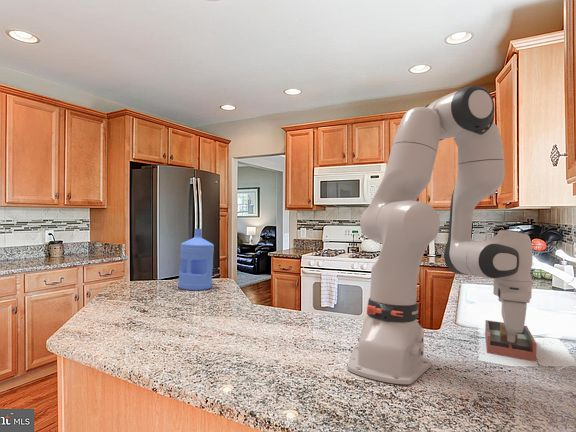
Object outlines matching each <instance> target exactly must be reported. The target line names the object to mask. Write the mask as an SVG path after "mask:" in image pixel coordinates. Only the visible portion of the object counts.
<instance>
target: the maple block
mask: <svg viewBox="0 0 576 432" xmlns="http://www.w3.org/2000/svg"><path fill="white" fill-rule="evenodd" d="M517 338H518V332H516V335H515V342H514V343H517ZM500 340H501V341H506V342H508V341H507V331H506V327H505V324H501V323H500Z"/></svg>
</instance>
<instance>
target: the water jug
mask: <svg viewBox="0 0 576 432" xmlns="http://www.w3.org/2000/svg"><path fill="white" fill-rule="evenodd" d="M202 230H203V229H202V228H195V229H194V236H193V238H190V239H188V240H186V241H184V242H181V243H180V247H179V248H180V251H179V252H180V253H179V257H180V262H179V263H180V265H179V272H178V273H179V275H178V282H177V284H178V285H177V286H178V288H179V289H181V290H185V291H206V290H209V289H212V287H213V270H214V254H215V253H214V251H215V249H214V247H215V245H214V244H213V243H212V242H210V241H208V240H206V239H204V238H203V237H202Z"/></svg>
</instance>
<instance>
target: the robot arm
mask: <svg viewBox="0 0 576 432" xmlns="http://www.w3.org/2000/svg"><path fill="white" fill-rule="evenodd" d="M494 101H495V100H494V98H493V96H492V94H491V93H490V92H489V91H488V90H487V89H486V88H485V87H484V86H481V85H469V86H465V87H462V88H459V89H458V90H456V91H454V92H451V93H449V94H446V95H443V96H440V97H439V98H437V99H436V100H434V101H433V102H431V103H428V104H426V106H417V107H412V108H411V109H409V110H407V111H406V112H405V113H404V115H403V116H402V118H401V121H400V123H399V124H398V127H397V129H396V132H395V135H394V138H393V142H392V144H391V145H392V146H391V150H390V152H389V153H390V154H389V157H388V160H387V165H386V169H385V172H384V175H383V177H382V180H381V181H380V183H379V186H378V188H377V190H376V191H375V194H374V196H373V198H372V200H371V202H370V204H369V205H368V206H367V208H366V209H365V210H364V211H363V212H362V214H361V216H360V218H359V227H360V230H361V232H362V233H363V235H364V236H365V237H366V238H368V239H370V240H371V241H373V242H375V243H376V244H381V248H380V253H379V255H378V257H377V259H376V262H375V263H374V264H373V265H372V267H371V271H370V295H369V297H368V302H367V304H366V305H367V306H366V314H367V316H365V317H364V318H363V322H362V323H363V324H362V327H361V332H360V336H358V339H357V341H358V345H354V346H353V349H352V351H351V355H350V357H349V360H348V363H347V371H349V372H351V373H353V374H355V375H357V376H361V377H362V378H363V377H364V378H367V379H370V380H371V379H372V380H375V381H379V382H384V383H388V384H389V383H390V384H397V385H412V384H413V383H414V382H415V381H417V379H418V378H420V377H421V376H422V375H423V374H424V373H425V372H427V370H428V369H430V368H431V367H432V361H431V360H430V359H428V358H426V357H425V355H424V354H425V353H424V352H425V351H424V348H425V344H424V343H425V342H424V341H425V339H424V338H425V336H424V333H425V331H424V327H422V326H421V324H420V322H419V321H418V320H417V319H418V318H419V317H418V316H419V315H418V314H419V304H418V303H417V294H418V293H417V292H418V291H417V289H418V278H419V277H418V276H419V270H420V265H421V263H422V259H423V256H424V254H425V252H426V249H427V248H428V246H429V245H430V243H432V242H433V241H434V240H435V239H436V238H437V237H438V234H439V231H440V228H441V227H440V226H441V221H440V216H439V213H438V212H437V210H436V209H435V208H434V207H433V206H432V205H430V204H429V203H425V202H422V201H419V200H418V201H417V199H418V198H419V196H420V195H421V194H422V192H423V191H424V190H425V189H427V187H428V185H429V184H430V183H431V179H432V173H433V170H434V166H435V162H436V158H437V153H438V150H439V142H440V141H443V140H446V139H452V138H453V141H454V142H455V144H456V147H457V179H456V183H455V187H454V189H453V191H452V194H451V199H450V207H449V208H450V209H449V223H448V224H449V225H448V236H447V242H446V245H445V248H444V252H443V253H444V255H443V257H444V262H445V265H446V267H447V268H448V269H449V271H451V272H452V273H453V274H456V275H464V276H473V277H479V278H485V279H493V295H494V296H497V297H498V301H499V302H500V303H501V310H500V311H501V312H500V313H501V317H502V320H503V323H504V324H505V327H506V331H507V341H508V342H512V343H514V342H515V335H516V332H518V333H522V332H523V329H524V326H525V323H526V315H527V308H528V307H527V304H529V303H530V302H531V301H530V300H531V299H532V292H533V291H532V289H533V287H532V285H533V284H532V283H533V281H532V280H533V279H532V275H531V270H532V267H533V243H532V239H531V238H530V236H529V235H528V234H527V233H525V232H524V231H520V230H519V231H518V230H511V229H502V230H499V231H498V232H497V234H496V235H494V236H492V237H491V238H489V239H486V240H484V241H483V240H482V241H474V240H473V238H472V229H473V228H472V227H473V215H474V211H475V210H476V209H475V208H476V207H477V206H478V204H479V203H480V202H482V201H483V200H484V199H486V198H489V196H491V195H493V194H494V193H495V192H496V191H497V190H499V188H501V186H502V185H503V183H504V179H505V176H506V166H505V165H506V164H505V154H504V153H505V152H504V146H503V139H502V136H501V132H500V130H499V126H498V125H497V124H495V123H494V119H495V111H496V110H495V102H494Z"/></svg>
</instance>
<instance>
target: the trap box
mask: <svg viewBox="0 0 576 432" xmlns="http://www.w3.org/2000/svg"><path fill="white" fill-rule="evenodd" d="M500 323H501V324H504V321H503V322H501V321H495V320H488V319H485V327H484V328H485V329H484V336H485V346H486V353H487V354H493V355H499V356H505V357H508V358H509V357H510V358H517V359H521V360H525V361H526V360H527V361H531V362H537V346H538V345H537V342H536V339H535V338H534V336H533V335H532V333H531V331H530V329H529V328H528V326H527V325H524V329H523V332H522V333H518V338H517V343H512V342H506V341H501V340H500Z"/></svg>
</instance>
